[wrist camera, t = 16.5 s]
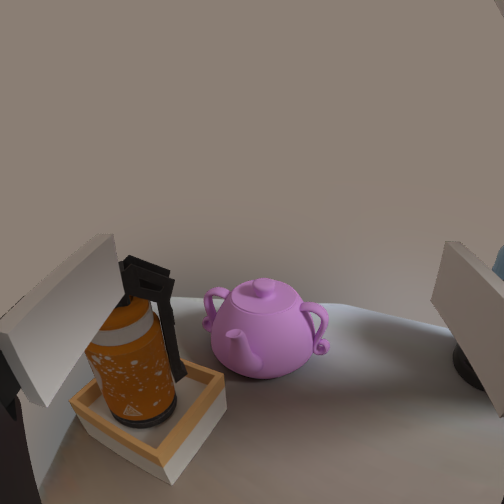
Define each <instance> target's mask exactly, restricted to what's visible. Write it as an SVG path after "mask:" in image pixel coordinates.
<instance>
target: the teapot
mask: <svg viewBox="0 0 504 504" xmlns="http://www.w3.org/2000/svg"><path fill="white" fill-rule="evenodd" d="M213 295H215V296H219V297H221V298H223V299H225V301H224V302H223V304H222V305H221V307H220V308H219V310H218V312H217V313H216V310H215V307H214V304H213V300H212V296H213ZM204 306H205V310H206V312H207V315H208V316H206V317H205V318H204V319H203V322H202V325H203V327H204V329H205V330H207V331H208V332H211V346H212V350H213V352H214V354H215V356H216V357H217V359H218V360H219V361H220V362H221V363H222V364H223V365H224V366H226V367H227V368H229V369H230V370H232V371H234V372H236V373H238V374H241V375H243V376H247V377H250V378H256V379H271V378H277V377H281V376H284V375H287V374H289V373H291V372H293V371H295V370H297V369H298V368H300V367H301V366H302V365H304V364H305V363H306V362H307V361H308V359H309V358H310V356H311V355H312V353H314V354H316V355H323V354H326V353H327V352H328V351H329V348H330V344H329V342H328V340H326V339H321V338H322V336H323V334H324V332H325V330H326V328H327V325H328V320H329V317H328V313H327V311H326V310H325V308H324V307H322V306H321V305H319V304H317V303H313V302H303V300H302V299H301V297H300V296H299V294H298V293H297V292H296V291H295V290H294V289H293V288H292V287H291V286H289V285H287V284H285V283H283V282H280V281H276V280H272V279H269V278H259V279H256V280H251V281H247V282H244V283H242V284H240V285H238V286H237V287H236V288H234V289H233V290H232V292H230V291H229V290H227V289H225V288H221V287H215V288H212V289H210V290H209V291H207V293H206V294H205V296H204ZM310 312H313V313H315V314H317V315H318V316H319V317H320V318H321V324H320V327H319V329H318V331H317V333H316V335H315V328H314V323H313V319H312V317H311V314H310ZM319 345H323V346H319Z"/></svg>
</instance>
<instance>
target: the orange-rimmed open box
mask: <svg viewBox="0 0 504 504" xmlns="http://www.w3.org/2000/svg"><path fill="white" fill-rule="evenodd" d="M166 354H167V353H166ZM167 358H168V355H167ZM180 360H181V361H183V363H184V365H185V368H186V370H187V373H188V374H187V375H186V376H185V377H183V378H182V379H181V380H180V381H178V382H177V383H175V381H174V378H173V375H172V372H171V376H172V380H173V384H174V388H175V392H176V396H177V405H176V408H175V410H174V412H173V414H172V415H171V416H170V417H169V418H168V419H167V420H166V421H164V422H163V423H161V424H159V425H157V426H154V427H151V428H145V429H136V428H130V427H127V426H125V425H122V424H121V423H119V422H118V421H117V420H116V419H115V418H114V417H113V415H112V413H111V411H110V409H109V407H108V405H107V403H106V401H105V399H104V396H103V394H102V392H101V390H100V388H99V385H98V383H97V381H96V378H94V379H92V380H91V381H90V382H89V383H88V384H87V385H86V386H85V387H83V388H82V389H81V390H80V391H79V392H78V393H77V394H76V395H74V396H73V397H72V398H71V399H70V400H69V402H70V404H71V406H72V407H73V409H74V411H75V413H76V414H77V416H78V418H79V420H80V421H81V423H82V424H83V426H84V428H85V429H86V431H87V433H88V434H89V435H90V436H92V437H93V438H95V439H96V440H98V441H99V442H100V443H102V444H103V445H105V446H106V447H108V448H109V449H111V450H112V451H114V452H115V453H117V454H118V455H120V456H121V457H123V458H125V459H126V460H128V461H129V462H131V463H133V464H134V465H136V466H138V467H139V468H141V469H143V470H145V471H146V472H148V473H150V474H152V475H153V476H155V477H157V478H159V479H161V480H162V481H164V482H166V483H168V484H170V485H173V484H174V482H175V481H176V480H177V478H178V477H179V476H180V474H181V473H182V472H183V470H184V469H185V468H186V466H187V465H188V464H189V462H190V461H191V460H192V458H193V457H194V455H195V454H196V453H197V451H198V450H199V448H200V447H201V446H202V444H203V443H204V441H205V440H206V439H207V437H208V436H209V434H210V433H211V432H212V430H213V429H214V427H215V426H216V424H217V423H218V421H219V420H220V419H221V417H222V416H223V414H224V413H225V411H226V410H227V403H226V393H225V382H224V373H221V372H218V371H215V370H212V369H209V368H206V367H204V366H201V365H198V364H195V363H192V362H190V361H187V360H184V359H182V358H180ZM168 363H169V360H168ZM169 367H170V364H169ZM170 371H171V369H170Z"/></svg>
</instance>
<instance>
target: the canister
mask: <svg viewBox="0 0 504 504" xmlns="http://www.w3.org/2000/svg"><path fill="white" fill-rule="evenodd" d="M118 264H119V269H120V274H121V279H122V283H123V288H124V293H125V294H124V296H123V297H122V298H121V300H120V301H119V303H118V304H117V305H116V307H115V308H114V309H113V311H112V312H111V314H110V315H109V316H108V318H107V319H106V321H105V322H104V323H103V325H102V326H101V328H100V329H99V330H98V332H97V333H96V335H95V336H94V338H93V339H92V340H91V342H90V343H89V345H88V346H87V348H86V349H85V354H86V356H87V359H88V361H89V364H90V366H91V368H92V371H93V374H94V376H95V378H96V381H97V383H98V385H99V388H100V390H101V392H102V394H103V396H104V399H105V401H106V403H107V405H108V407H109V409H110V411H111V413H112V415H113V417H114V418H115V419H116V420H117V421H118V422H119V423H121V424H122V425H125V426H127V427H130V428H136V429H145V428H151V427H154V426H157V425H159V424H161V423H163V422H164V421H166V420H167V419H168V418H169V417H170V416H171V415H172V414H173V412H174V410H175V408H176V405H177V396H176V392H175V388H174V384H173V380H172V376H171V372H172V375H173V378H174V381H175V383H177V382H178V381H180V380H181V379H182V378H183V377H185V376H186V375H187V374H188V373H187V370H186V368H185V365H184V363H183V361H181V360H180V356H179V351H178V345H177V340H176V334H175V329H174V325H175V322H174V316H173V309H172V307H171V305H170V298H171V294H172V290H173V286H174V282H175V280H174V279H171V278H169V274H170V270H168V269H165V268H162V267H160V266H157V265H154V264H152V263H149V262H146V261H144V260H141V259H139V258H136V257H133V256H131V255H128V257H126V258H125V259H124V260H123V261H120V262H118ZM150 301H153V302H157V306H158V311H159V316H160V320H159V318H158V316H157V315H156V313H155V312H153V311H152V306H151V302H150ZM160 321H161V325H160ZM161 327H162V330H161ZM162 332H163V335H162ZM163 336H164V340H163ZM164 341H165V345H164ZM165 346H166V349H165ZM166 351H167V354H166ZM167 355H168V358H167ZM168 360H169V363H168ZM169 364H170V367H169ZM170 369H171V371H170Z"/></svg>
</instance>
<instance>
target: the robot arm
mask: <svg viewBox="0 0 504 504" xmlns="http://www.w3.org/2000/svg"><path fill="white" fill-rule="evenodd" d="M494 1H495V3H496V5H497V7H498V8H499V10H500V11H501V14H502V15H503V17H504V0H494ZM124 294H125V293H124V288H123V283H122V279H121V274H120V269H119V264H118V259H117V253H116V247H115V242H114V236H113V234H97V235H95V236H94V237H93V238H92V239H90V240H89V241H88V242H87V243H86V244H84V245H83V246H82V247H81V248H79V249H78V250H77V251H76V252H74V253H73V254H72V255H71V256H70V257H68V258H67V259H66V260H65V261H64V262H63V263H61V264H60V265H59V266H58V267H57V268H56V269H54V270H53V271H52V272H51V273H50V274H49V275H47V277H45V278H44V279H43V280H42V281H41V282H40V283H38V284H37V285H36V286H35V287H34V288H33V289H32V290H31V291H30V292H29V293H28V294H26V295H25V296H23V297H22V298H21V299H20V300H19V301H18V302H17V303H16V304H15V306H13V307H12V308H11V309H10V310H9V311H8V312H7V313H6V314H4V315H3V316H2V317H1V318H0V504H42V503H41V499H40V496H39V493H38V489H37V485H36V482H35V478H34V474H33V470H32V465H31V461H30V456H29V452H28V446H27V442H26V436H25V430H24V424H23V417H22V409H21V403H20V400H19V399H18V397H17V393H18V392H19V390H20V389H22V390H23V392H24V394H25V395H26V397H27V399H28V400H29V401H30V402H32V403H35V404H37V405H40V406H43V407H46V408H48V406H49V404H50V403H51V401H52V399H53V398H54V396H55V395H56V393H57V392H58V390H59V388H60V387H61V385H62V384H63V382H64V381H65V379H66V378H67V376H68V374H69V373H70V371H71V370H72V368H73V367H74V365H75V364H76V362H77V361H78V359H79V358H80V356H81V355H82V353H83V352H84V351H85V349H86V348H87V346H88V345H89V343H90V342H91V340H92V339H93V338H94V336H95V335H96V333H97V332H98V330H99V329H100V328H101V326H102V325H103V323H104V322H105V321H106V319H107V318H108V316H109V315H110V314H111V312H112V311H113V309H114V308H115V307H116V305H117V304H118V303H119V301H120V300H121V298H122V297H123V296H124ZM431 302H432V304H433V305H434V307H435V308H436V310H437V311H438V312H439V314H440V316H441V317H442V319H443V320H444V322H445V323H446V325H447V326H448V328H449V330H450V331H451V333H452V334H453V336H454V337H455V339H456V341H457V342H458V343H457V345H456V348H455V350H454V353H453V362H454V365H455V367H456V369H457V371H458V373H459V374H460V375H461V376H462V377H463V378H464V379H465V380H466V381H467V382H468V383H470V384H471V385H473V386H474V387H476V388H478V389H481V390H484V391H486V392H487V394H488V396H489V398H490V400H491V402H492V404H493V406H494V408H495V410H496V411H497V413H498V415H499V417H500V418H501V417H504V246H502V247H501V249H500V250H499V252H498V255H497V258H496V261H495V264H494V266H493V268H492V270H491V269H490V268H489V267H488V266H487V265H486V264H485V263H484V262H482V261H481V260H480V259H479V258H478V257H477V256H476V255H475V254H474V253H472V252H471V251H470V250H469V249H468V248H467V247H465V245H463V244H462V243H461V242H454V241H445V245H444V250H443V254H442V259H441V263H440V267H439V271H438V275H437V279H436V284H435V287H434V291H433V294H432V298H431ZM501 504H504V497H503V500H502V503H501Z"/></svg>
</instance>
